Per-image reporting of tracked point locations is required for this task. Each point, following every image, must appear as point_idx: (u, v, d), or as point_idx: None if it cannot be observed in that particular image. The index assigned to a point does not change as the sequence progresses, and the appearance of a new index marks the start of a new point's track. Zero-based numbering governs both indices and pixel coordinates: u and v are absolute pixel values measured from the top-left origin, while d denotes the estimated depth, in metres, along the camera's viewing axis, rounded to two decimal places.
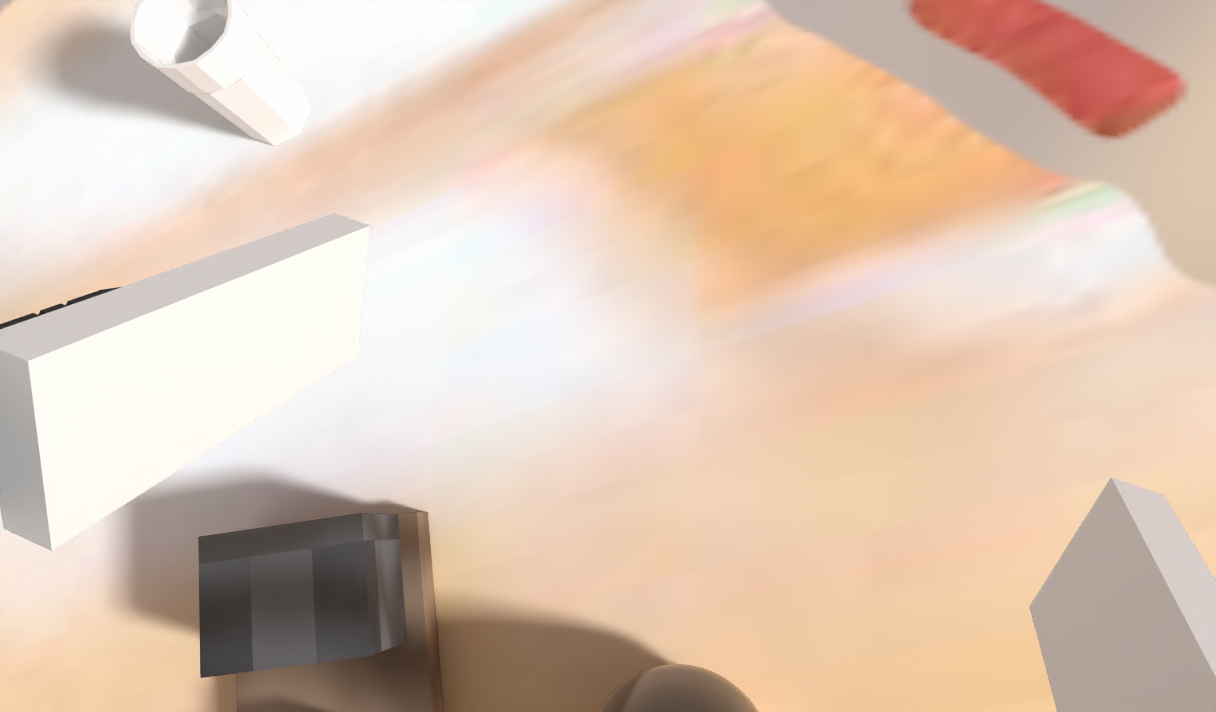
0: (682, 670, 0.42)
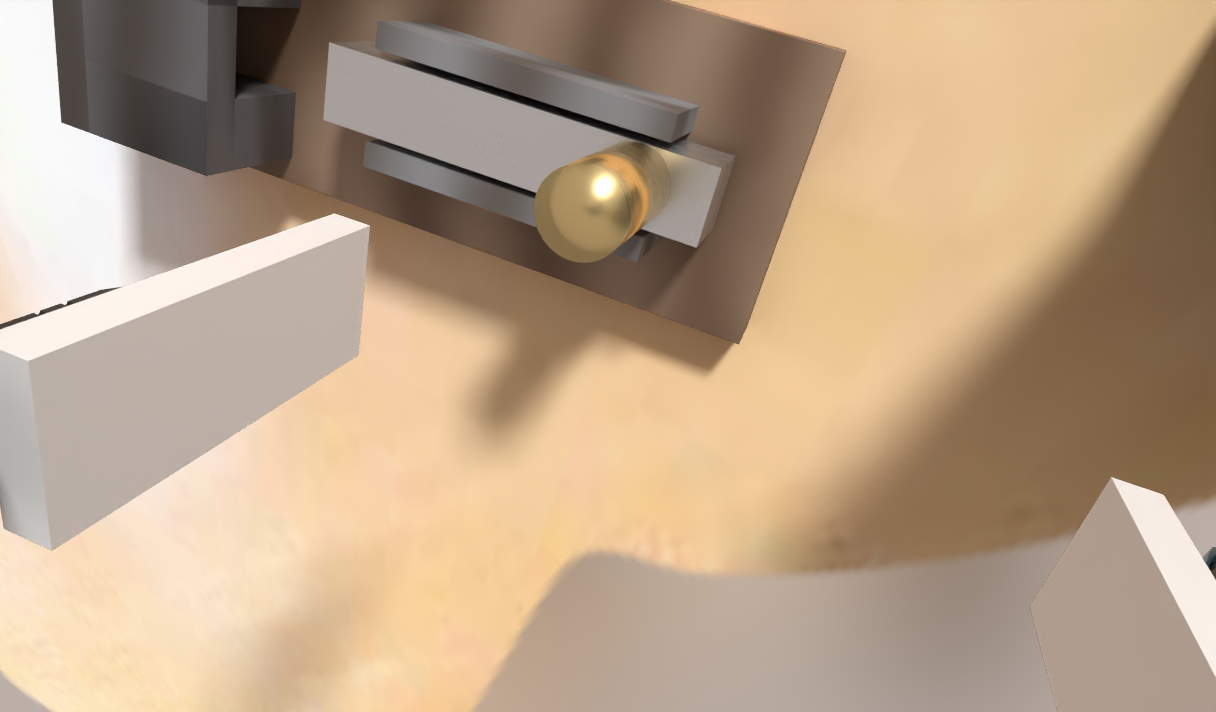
0: None
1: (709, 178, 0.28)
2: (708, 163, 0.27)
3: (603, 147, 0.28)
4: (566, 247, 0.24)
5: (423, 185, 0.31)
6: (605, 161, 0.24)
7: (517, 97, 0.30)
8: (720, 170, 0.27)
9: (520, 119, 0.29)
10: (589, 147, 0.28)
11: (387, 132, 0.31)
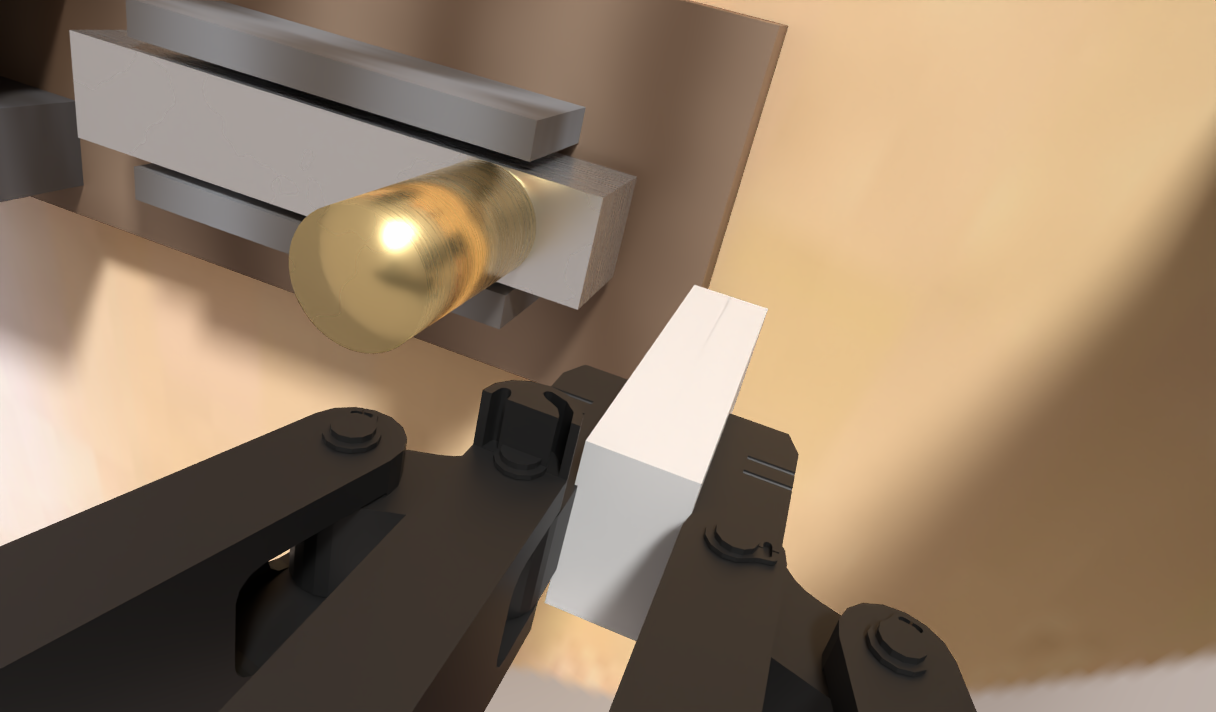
0: None
1: (587, 213, 0.19)
2: (585, 190, 0.19)
3: (439, 169, 0.20)
4: (342, 330, 0.16)
5: (213, 224, 0.23)
6: (398, 196, 0.15)
7: (327, 101, 0.21)
8: (602, 200, 0.19)
9: (325, 131, 0.20)
10: (420, 170, 0.20)
11: (159, 153, 0.22)
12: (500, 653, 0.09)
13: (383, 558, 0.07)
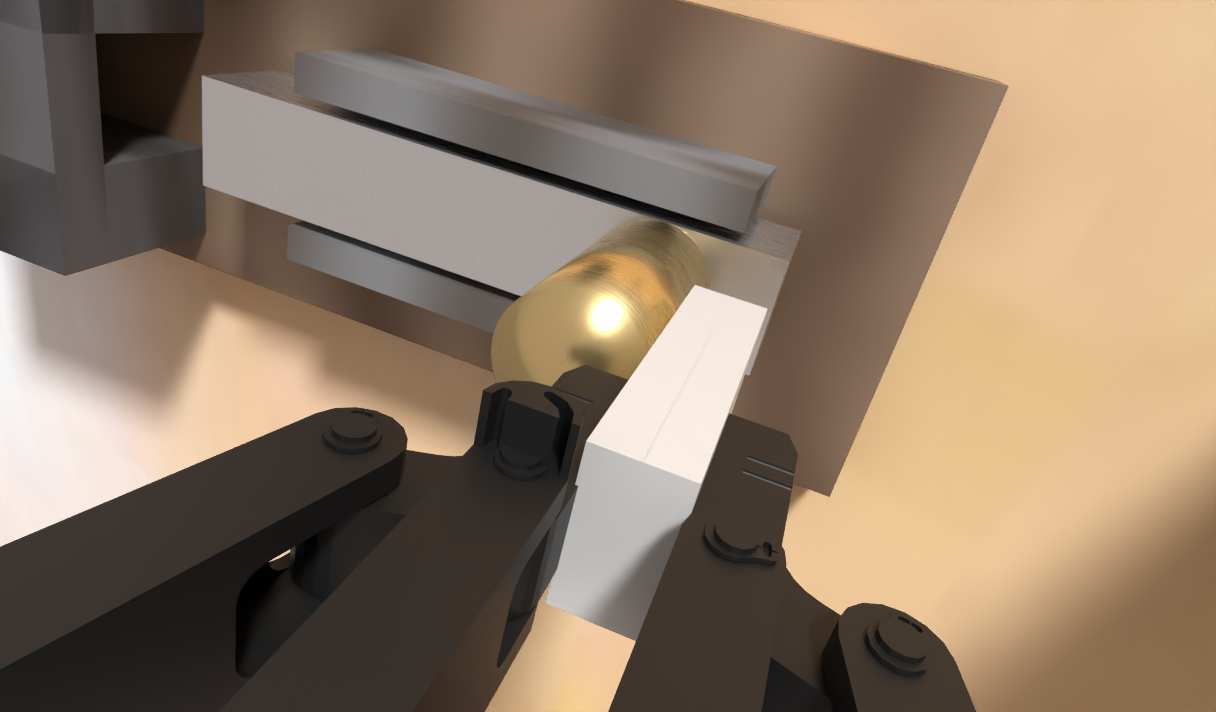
0: None
1: (770, 276, 0.18)
2: (768, 253, 0.18)
3: (605, 228, 0.19)
4: None
5: (373, 287, 0.21)
6: (609, 274, 0.14)
7: (476, 151, 0.20)
8: (787, 264, 0.18)
9: (479, 185, 0.19)
10: (583, 227, 0.19)
11: (291, 203, 0.21)
12: (500, 653, 0.09)
13: (383, 558, 0.07)
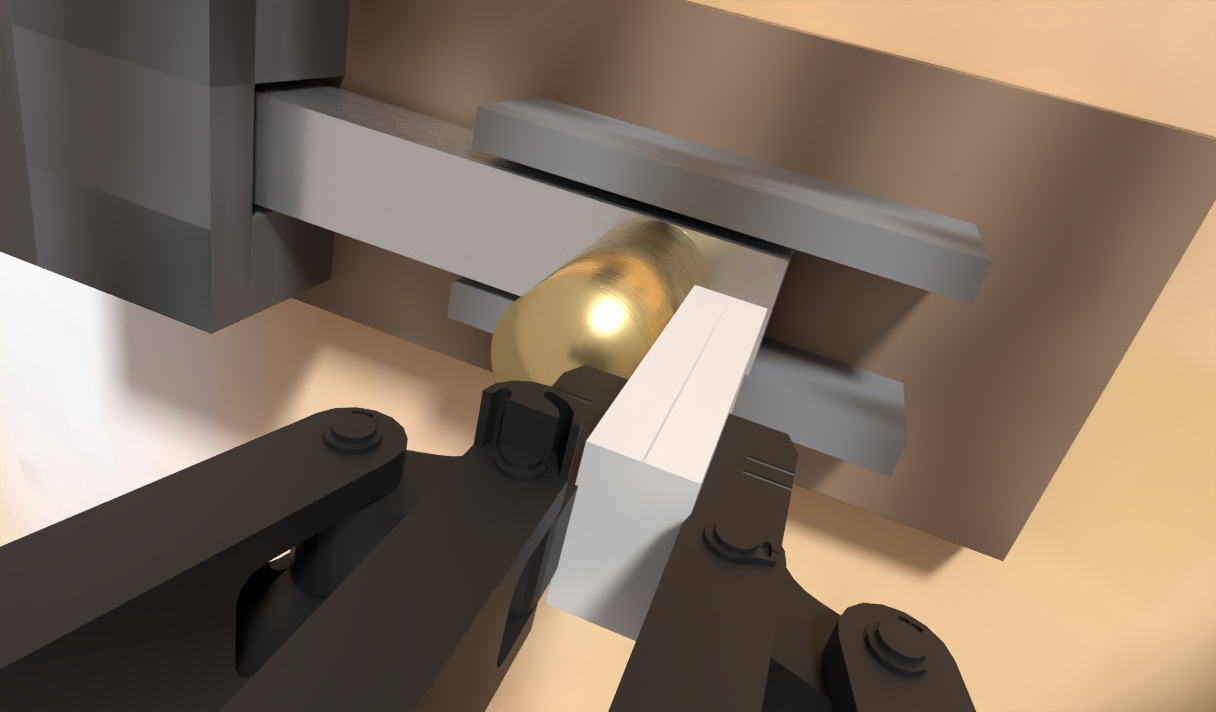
0: None
1: (769, 276, 0.18)
2: (767, 253, 0.18)
3: (605, 228, 0.19)
4: None
5: None
6: (609, 274, 0.14)
7: (476, 151, 0.20)
8: (786, 264, 0.18)
9: (479, 186, 0.19)
10: (583, 227, 0.19)
11: (290, 203, 0.21)
12: (500, 653, 0.09)
13: (383, 558, 0.07)
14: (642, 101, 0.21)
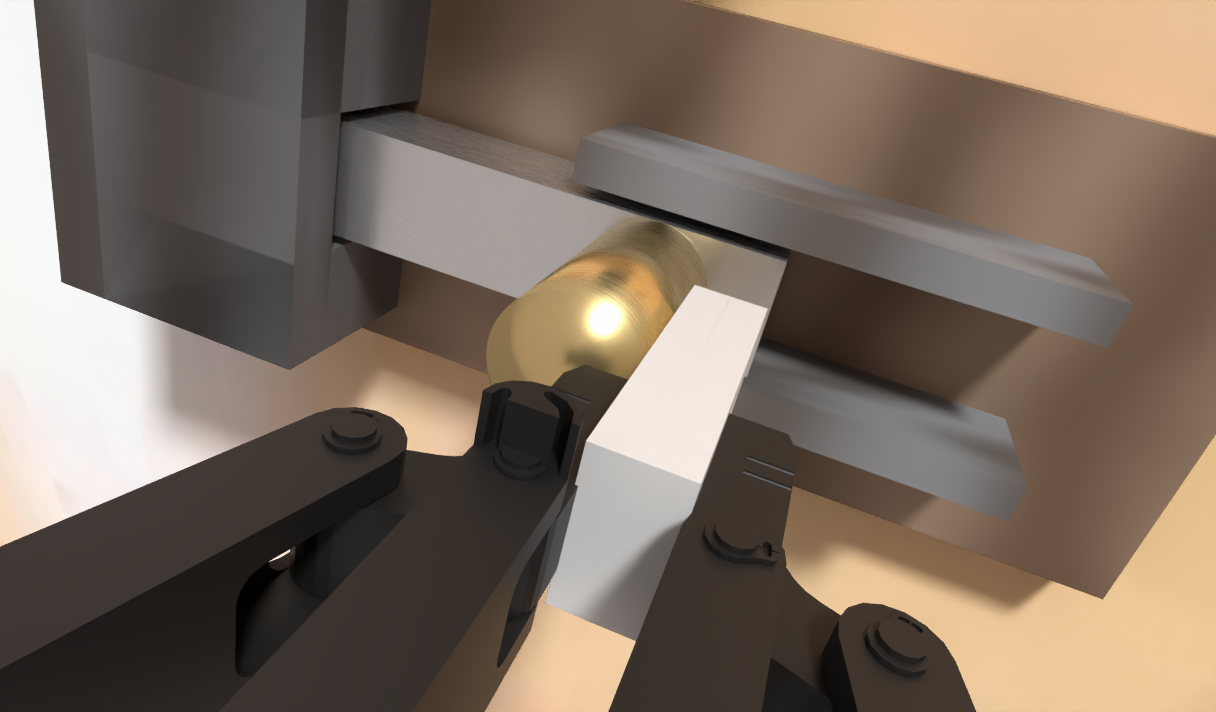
0: None
1: (767, 277, 0.18)
2: (765, 253, 0.18)
3: (601, 228, 0.18)
4: None
5: None
6: (606, 276, 0.14)
7: (470, 151, 0.20)
8: (784, 264, 0.17)
9: (473, 186, 0.19)
10: (579, 228, 0.19)
11: None
12: (500, 653, 0.09)
13: (384, 558, 0.07)
14: (739, 129, 0.20)
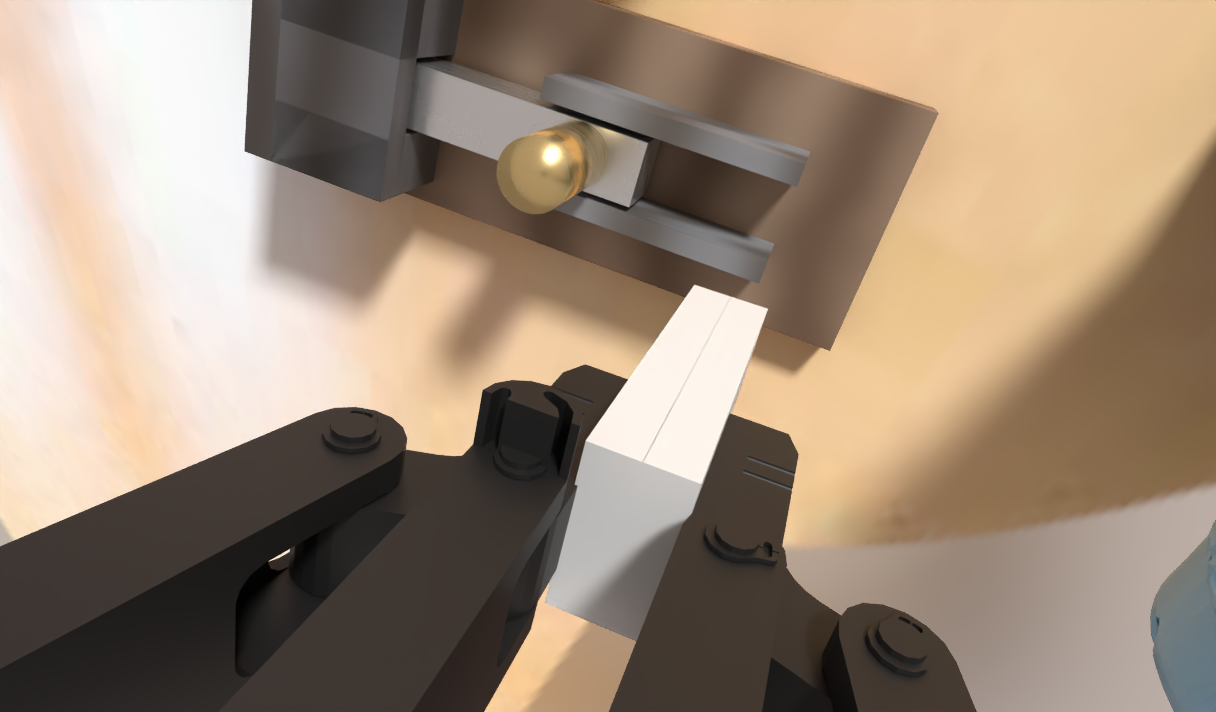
0: None
1: (638, 151, 0.35)
2: (637, 139, 0.34)
3: (554, 125, 0.35)
4: (522, 202, 0.31)
5: (572, 214, 0.37)
6: (552, 135, 0.31)
7: (485, 82, 0.36)
8: (647, 145, 0.34)
9: (487, 100, 0.36)
10: (543, 124, 0.35)
11: None
12: (500, 653, 0.09)
13: (383, 558, 0.07)
14: (632, 77, 0.37)
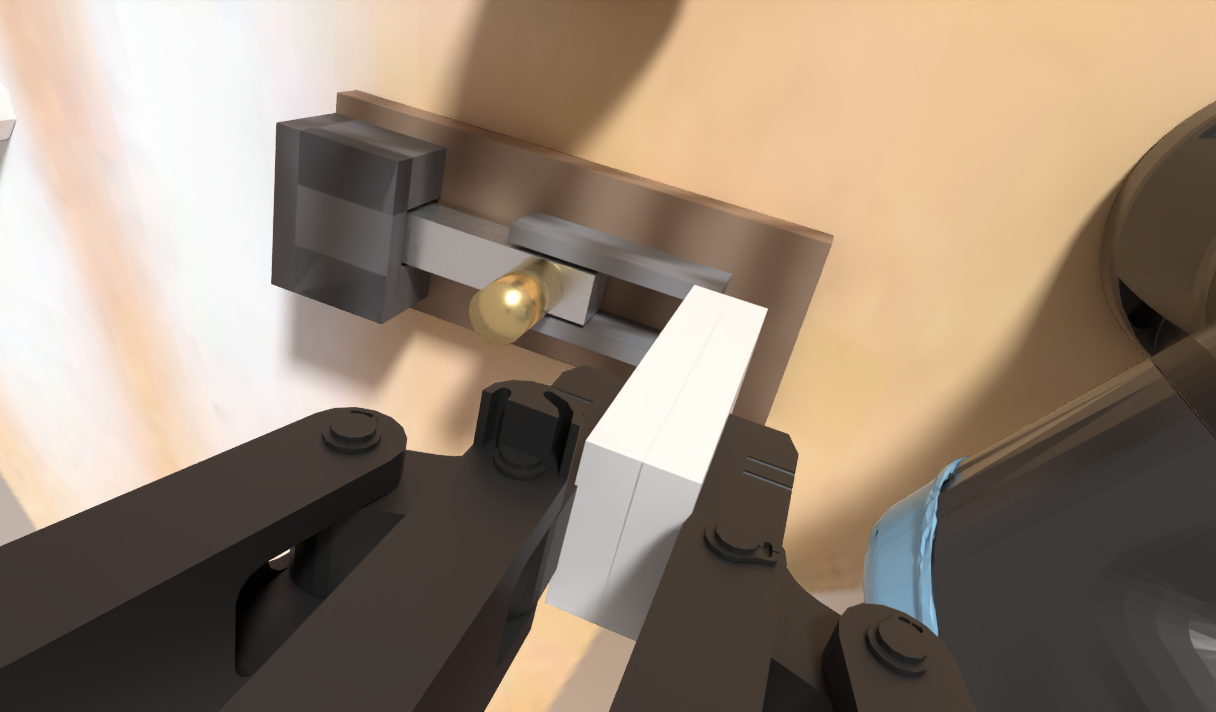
0: None
1: (588, 282, 0.42)
2: (587, 272, 0.42)
3: (519, 261, 0.43)
4: (490, 335, 0.39)
5: (538, 330, 0.44)
6: (512, 282, 0.39)
7: (463, 225, 0.44)
8: (594, 277, 0.42)
9: (465, 242, 0.44)
10: (510, 261, 0.43)
11: None
12: (500, 653, 0.09)
13: (383, 558, 0.07)
14: (584, 215, 0.45)
